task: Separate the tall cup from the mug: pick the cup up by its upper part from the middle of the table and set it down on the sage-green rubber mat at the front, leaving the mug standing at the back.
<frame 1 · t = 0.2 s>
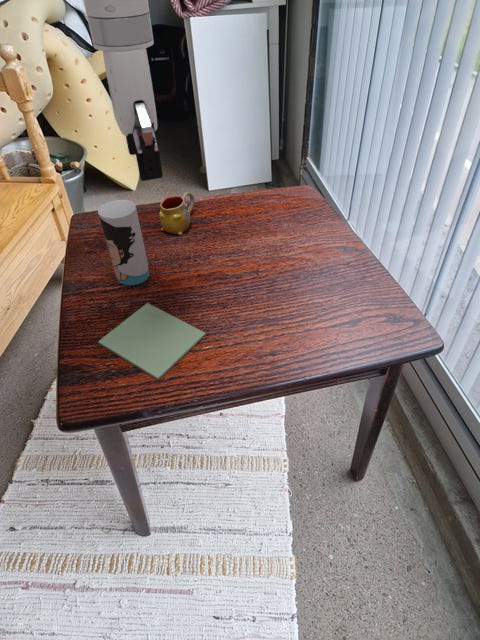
hand: (145, 165, 64), 25 cm above the table, tool pointing down, fingers open, 9 cm apart
mug: (182, 223, 100), on the table
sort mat: (152, 339, 73), on the table
cup: (133, 275, 86), on the table
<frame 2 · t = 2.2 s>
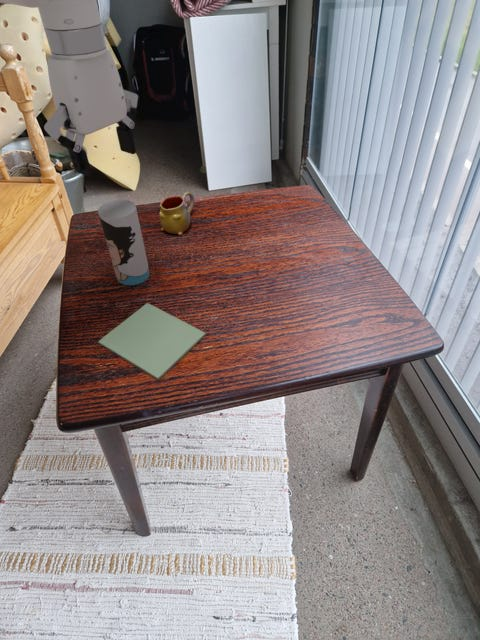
hand: (107, 162, 70), 23 cm above the table, tool pointing down, fingers open, 9 cm apart
nothing on the table moved.
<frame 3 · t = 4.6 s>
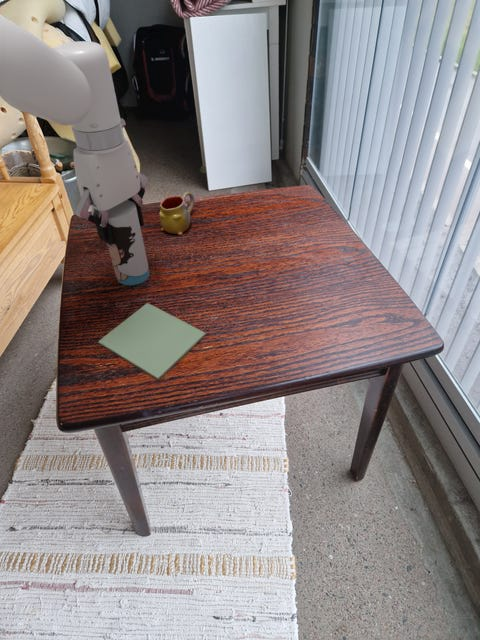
hand: (122, 232, 79), 10 cm above the table, tool pointing down, fingers closed on cup, 6 cm apart
cup: (133, 275, 86), on the table, touching gripper
everything else where it was.
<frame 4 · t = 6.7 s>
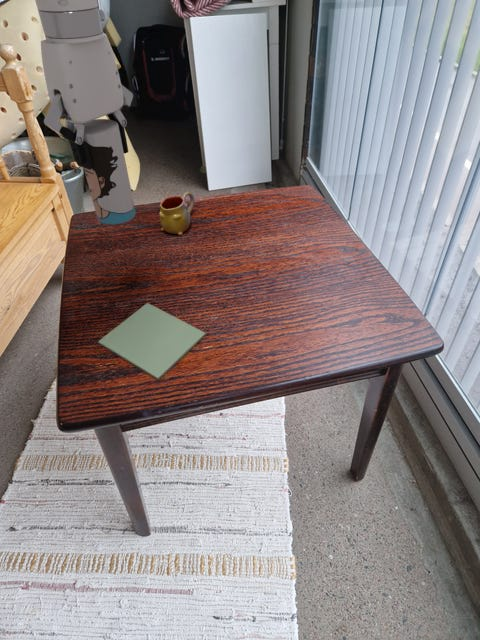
hand: (103, 158, 68), 25 cm above the table, tool pointing down, fingers closed on cup, 6 cm apart
cup: (116, 215, 75), point 14 cm above the table, touching gripper
everything else where it was.
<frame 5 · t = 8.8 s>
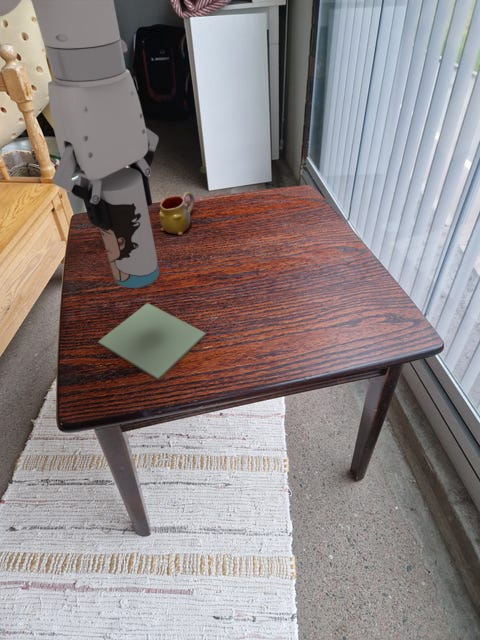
hand: (122, 213, 56), 24 cm above the table, tool pointing down, fingers closed on cup, 6 cm apart
cup: (137, 274, 63), point 14 cm above the table, touching gripper
everything else where it was.
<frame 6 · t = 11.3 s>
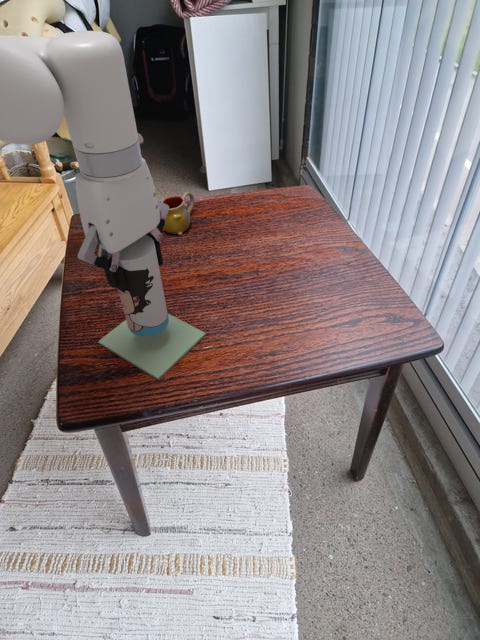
hand: (137, 273, 63), 14 cm above the table, tool pointing down, fingers closed on cup, 6 cm apart
cup: (148, 323, 70), point 4 cm above the table, touching gripper
everything else where it was.
when the fingers open (11 cm above the table, at t = 13.0 s): cup stays where it is, resting on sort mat.
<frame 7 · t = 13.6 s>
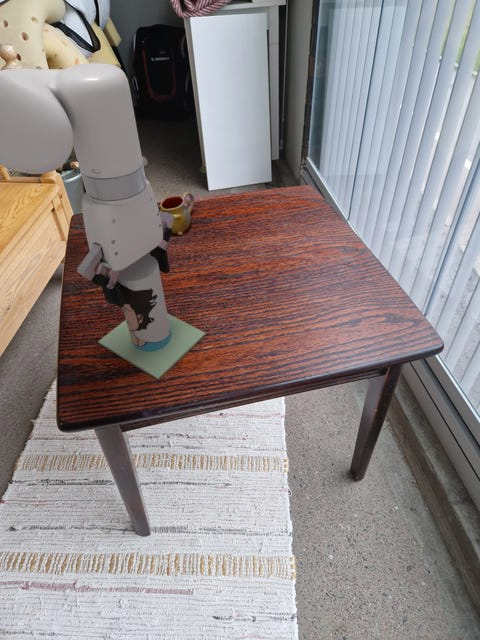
hand: (139, 285, 64), 12 cm above the table, tool pointing down, fingers open, 9 cm apart
cup: (152, 338, 72), resting on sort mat
everything else where it was.
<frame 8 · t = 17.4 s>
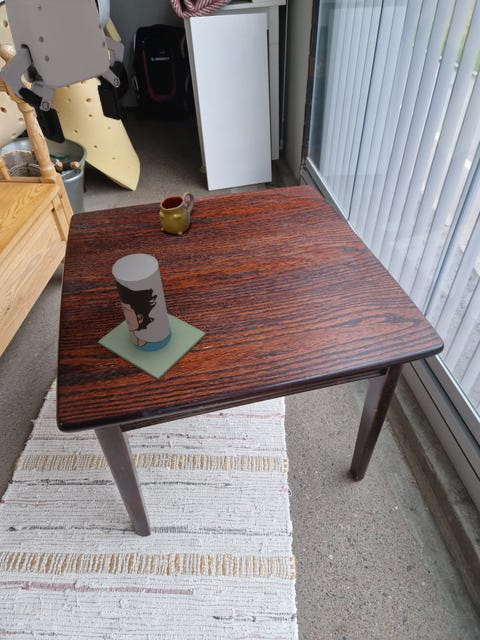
hand: (86, 128, 56), 32 cm above the table, tool pointing down, fingers open, 9 cm apart
nothing on the table moved.
at the end: cup inside the target area on the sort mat (0.1 cm from its centre), point 0.4 cm above the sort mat's base; cup tilted 0°; mug moved 0.2 cm from its start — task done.
